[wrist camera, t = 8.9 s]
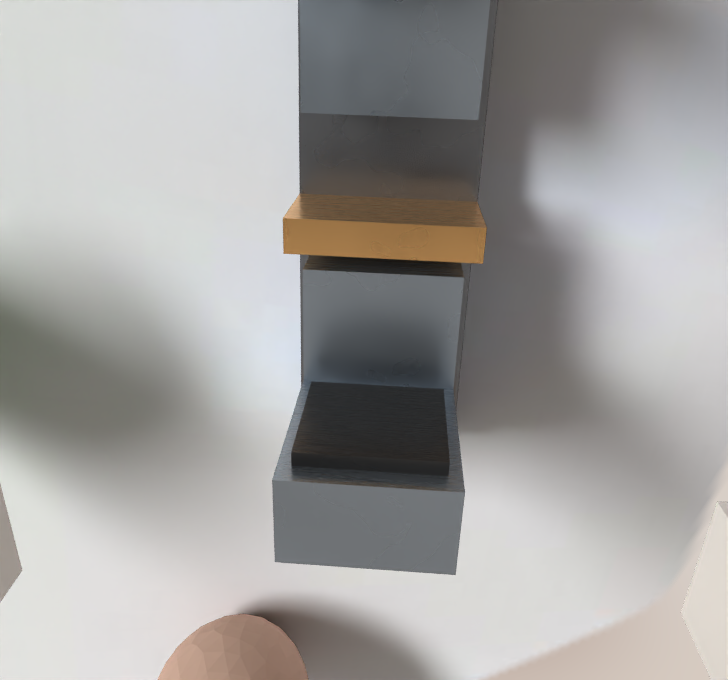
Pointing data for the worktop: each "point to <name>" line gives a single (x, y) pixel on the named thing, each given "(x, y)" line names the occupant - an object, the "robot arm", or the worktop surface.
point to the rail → (392, 133)
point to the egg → (236, 652)
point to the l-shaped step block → (374, 420)
